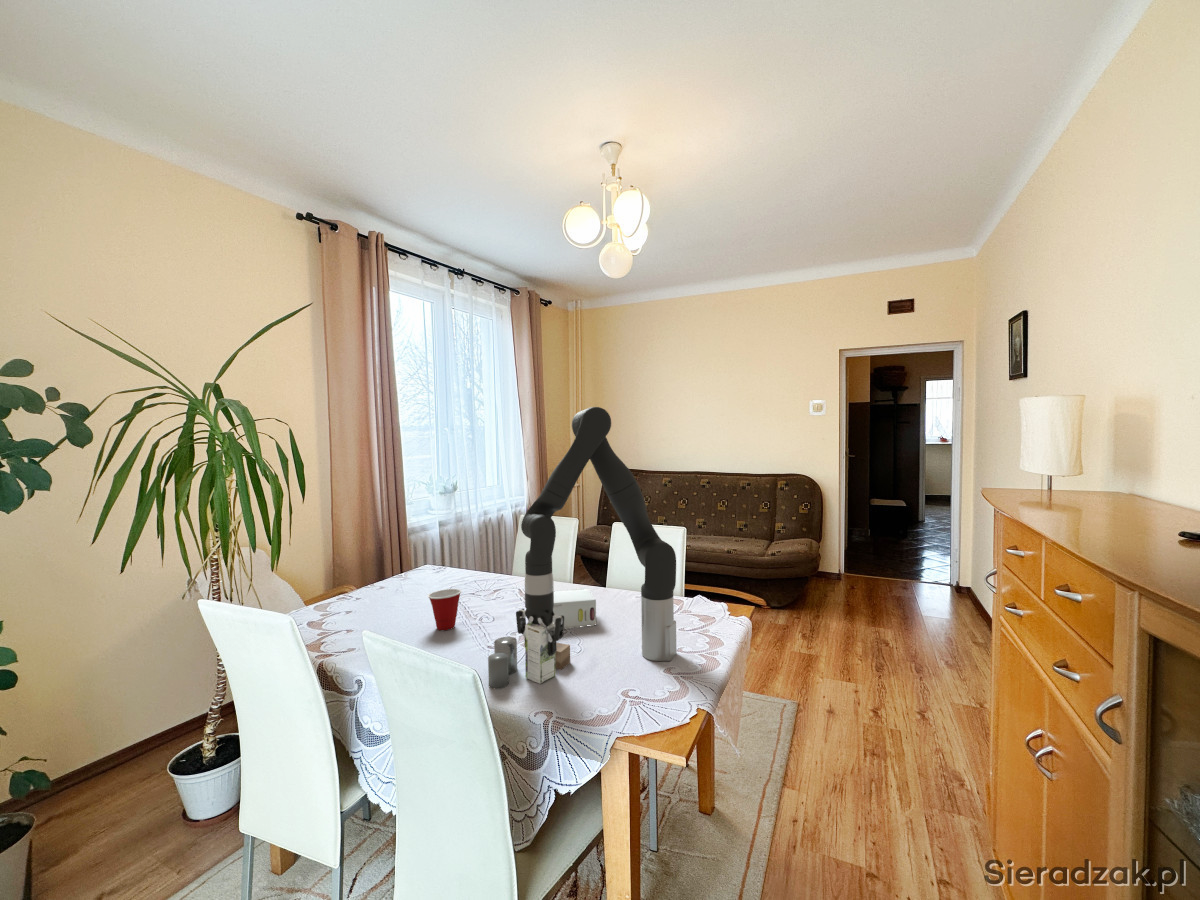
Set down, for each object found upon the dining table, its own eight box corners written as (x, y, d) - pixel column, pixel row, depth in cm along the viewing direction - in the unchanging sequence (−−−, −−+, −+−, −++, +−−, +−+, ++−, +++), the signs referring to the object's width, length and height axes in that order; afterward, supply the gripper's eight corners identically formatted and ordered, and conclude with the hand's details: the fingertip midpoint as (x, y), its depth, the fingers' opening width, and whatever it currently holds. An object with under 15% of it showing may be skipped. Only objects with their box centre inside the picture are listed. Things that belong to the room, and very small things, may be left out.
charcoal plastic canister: (512, 681, 131) (511, 654, 130) (500, 690, 126) (499, 662, 126) (497, 677, 133) (496, 651, 133) (484, 686, 128) (484, 659, 128)
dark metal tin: (521, 667, 138) (521, 638, 138) (508, 677, 133) (507, 647, 133) (504, 663, 141) (503, 635, 141) (490, 672, 136) (489, 643, 136)
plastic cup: (448, 619, 177) (447, 585, 176) (468, 625, 170) (468, 590, 170) (421, 629, 168) (420, 593, 167) (442, 636, 161) (441, 599, 161)
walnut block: (570, 662, 141) (569, 645, 141) (561, 670, 137) (560, 652, 137) (555, 659, 143) (554, 642, 143) (545, 666, 139) (545, 648, 139)
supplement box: (546, 631, 164) (546, 603, 164) (542, 617, 177) (541, 591, 177) (597, 626, 168) (596, 598, 168) (589, 613, 181) (588, 587, 181)
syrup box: (541, 670, 137) (539, 617, 136) (556, 676, 133) (555, 622, 132) (525, 678, 132) (524, 623, 132) (540, 685, 128) (539, 628, 128)
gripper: (570, 588, 132) (571, 651, 132) (525, 582, 139) (526, 642, 139) (554, 597, 125) (556, 663, 126) (508, 590, 132) (509, 653, 132)
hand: (540, 652), depth 132 cm, fingers closed on syrup box, 6 cm apart
